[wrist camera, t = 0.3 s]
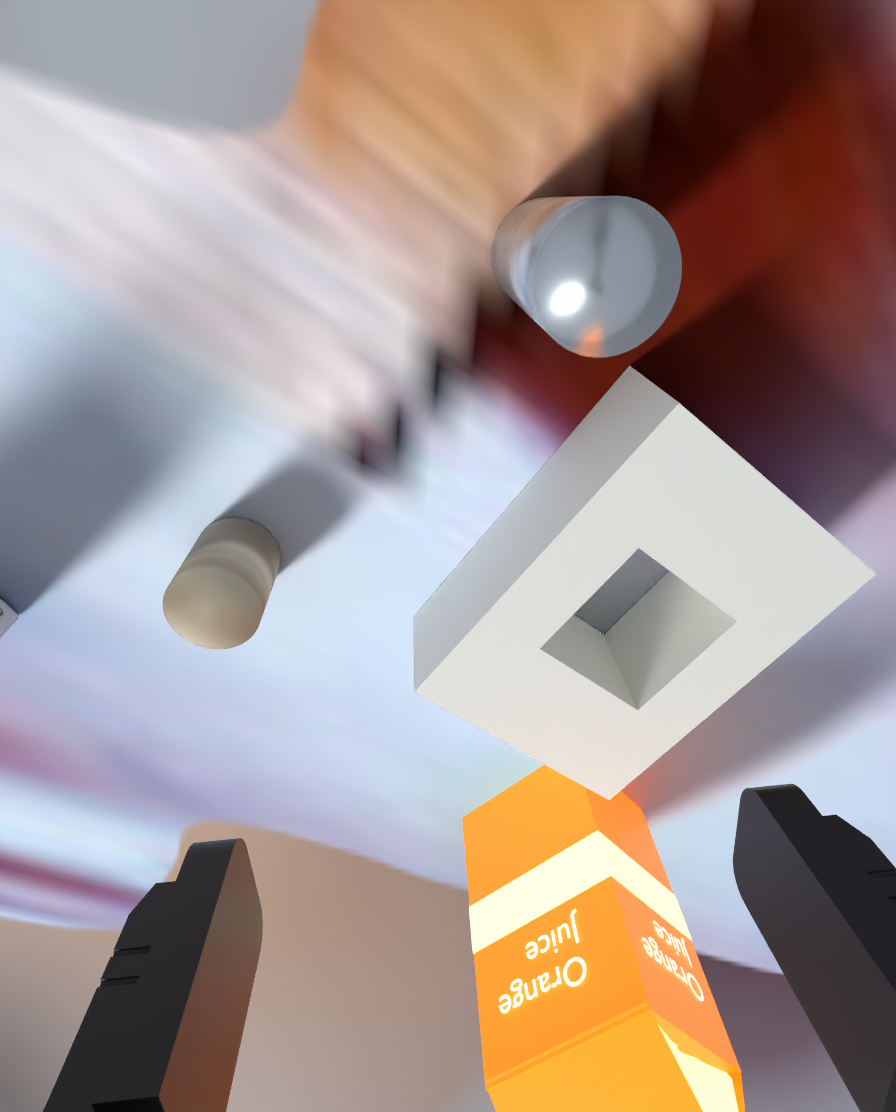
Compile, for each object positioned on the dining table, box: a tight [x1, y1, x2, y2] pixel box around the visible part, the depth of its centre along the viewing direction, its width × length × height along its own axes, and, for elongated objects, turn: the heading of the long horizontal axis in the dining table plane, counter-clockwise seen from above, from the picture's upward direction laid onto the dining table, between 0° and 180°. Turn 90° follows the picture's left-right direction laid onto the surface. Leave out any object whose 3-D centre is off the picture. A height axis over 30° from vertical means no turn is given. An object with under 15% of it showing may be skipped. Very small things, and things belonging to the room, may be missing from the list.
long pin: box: [492, 196, 682, 357], centre depth 22 cm, size 4×4×10 cm
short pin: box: [163, 517, 281, 649], centre depth 30 cm, size 4×4×5 cm
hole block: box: [413, 366, 876, 800], centre depth 31 cm, size 16×12×6 cm
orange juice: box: [462, 765, 745, 1112], centre depth 33 cm, size 8×9×20 cm
